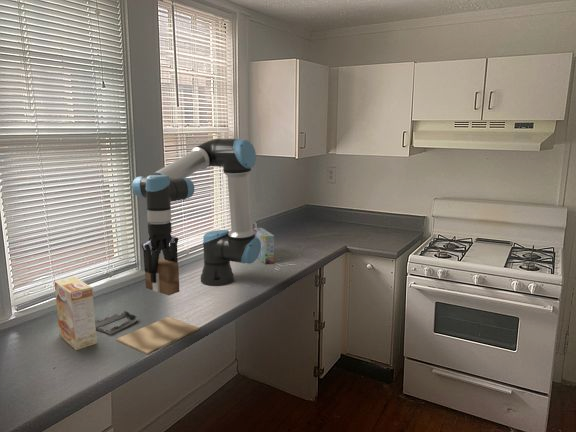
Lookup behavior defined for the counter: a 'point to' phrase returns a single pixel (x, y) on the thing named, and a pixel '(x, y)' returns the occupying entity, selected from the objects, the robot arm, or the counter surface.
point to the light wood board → (157, 335)
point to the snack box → (265, 245)
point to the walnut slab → (165, 277)
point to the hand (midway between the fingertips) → (162, 289)
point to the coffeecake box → (75, 312)
